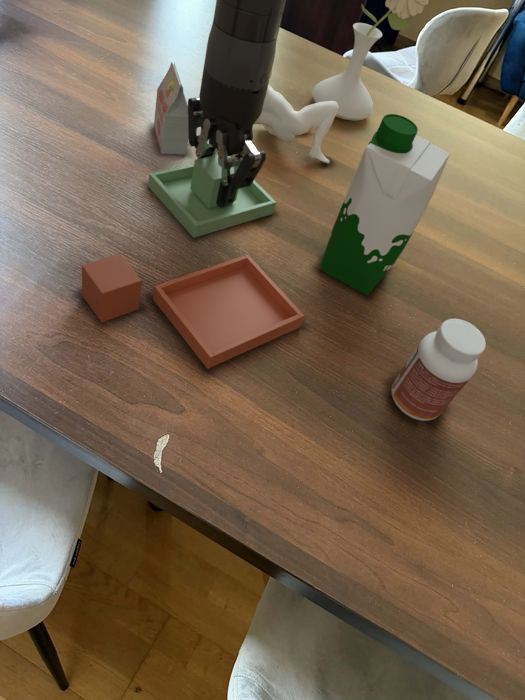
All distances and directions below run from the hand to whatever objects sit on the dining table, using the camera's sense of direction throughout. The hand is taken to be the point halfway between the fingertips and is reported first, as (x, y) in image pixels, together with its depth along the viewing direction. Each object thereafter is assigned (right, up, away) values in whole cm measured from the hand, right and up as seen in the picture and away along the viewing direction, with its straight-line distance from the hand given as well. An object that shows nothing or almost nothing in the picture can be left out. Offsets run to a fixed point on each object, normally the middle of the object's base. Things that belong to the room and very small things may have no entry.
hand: (213, 193), depth 78 cm
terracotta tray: (+3, -17, -12) cm, 21 cm away
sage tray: (0, -1, +1) cm, 1 cm away
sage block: (0, 0, 0) cm, 0 cm away
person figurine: (+8, +12, +14) cm, 20 cm away
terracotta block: (-10, -16, -15) cm, 24 cm away
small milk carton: (-7, +10, +8) cm, 14 cm away
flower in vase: (+21, +22, +26) cm, 40 cm away
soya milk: (+19, -11, -1) cm, 22 cm away
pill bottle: (+24, -27, -13) cm, 38 cm away
